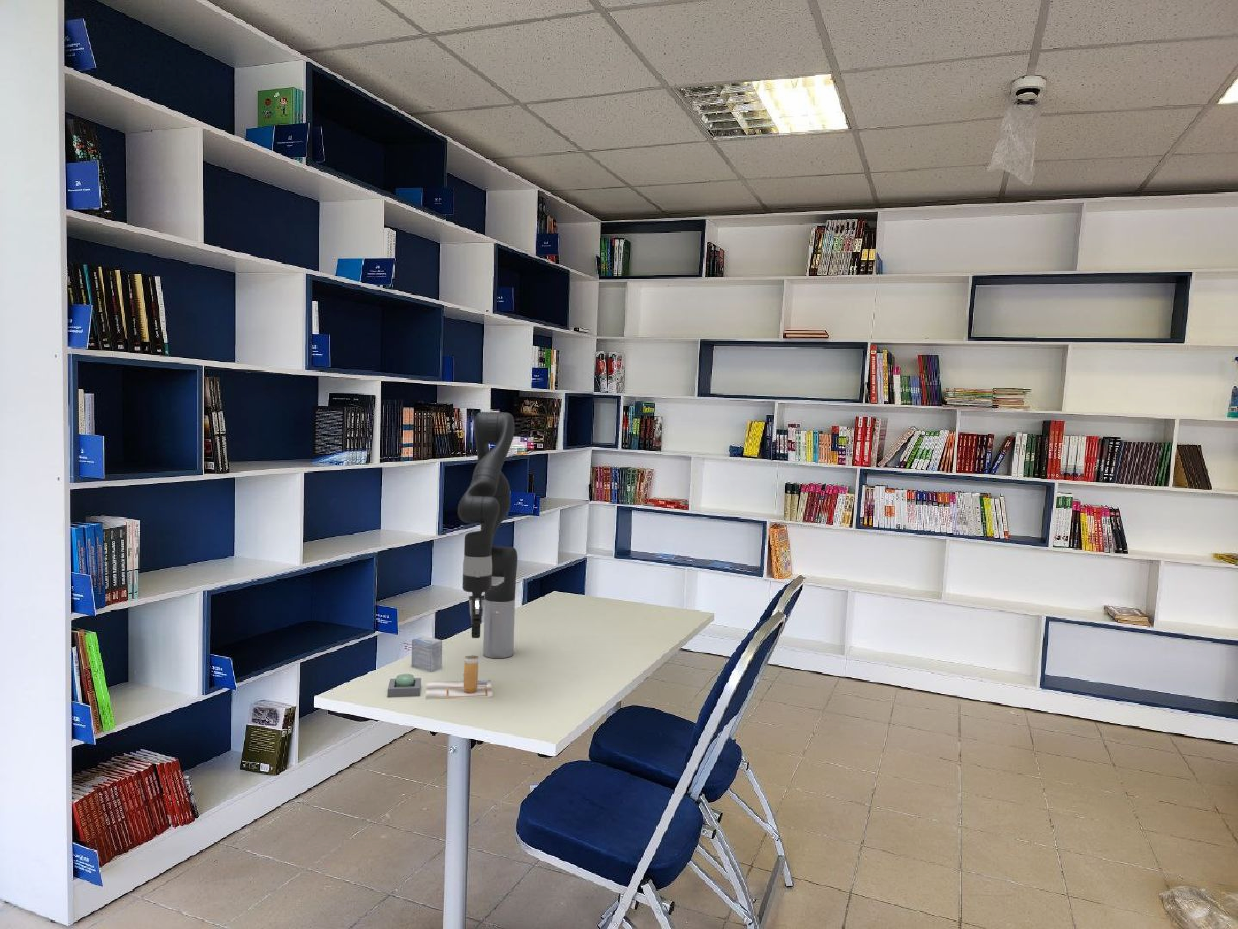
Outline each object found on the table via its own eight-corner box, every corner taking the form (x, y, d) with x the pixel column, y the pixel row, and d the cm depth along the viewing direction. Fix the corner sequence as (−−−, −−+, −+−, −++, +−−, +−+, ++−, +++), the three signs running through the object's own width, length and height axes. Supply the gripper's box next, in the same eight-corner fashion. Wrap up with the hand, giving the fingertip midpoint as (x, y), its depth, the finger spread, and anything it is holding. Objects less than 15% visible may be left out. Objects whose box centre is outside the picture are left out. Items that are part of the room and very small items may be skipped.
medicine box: (442, 669, 230) (443, 640, 229) (431, 673, 226) (432, 643, 225) (422, 664, 234) (422, 635, 233) (410, 668, 230) (411, 638, 229)
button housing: (390, 688, 213) (390, 678, 213) (421, 687, 215) (421, 677, 215) (387, 698, 205) (387, 689, 205) (419, 697, 207) (420, 688, 207)
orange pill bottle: (462, 689, 213) (463, 655, 213) (476, 688, 214) (477, 655, 214) (463, 693, 209) (464, 659, 209) (478, 693, 210) (479, 659, 210)
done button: (396, 683, 212) (396, 674, 212) (413, 683, 213) (414, 673, 213) (395, 689, 208) (395, 680, 207) (413, 688, 208) (413, 679, 208)
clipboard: (423, 683, 218) (423, 681, 218) (493, 680, 222) (494, 679, 222) (421, 701, 204) (421, 700, 204) (496, 699, 208) (496, 697, 208)
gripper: (462, 567, 216) (460, 630, 217) (463, 577, 203) (461, 645, 204) (490, 567, 217) (489, 630, 218) (493, 577, 204) (491, 644, 205)
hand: (475, 637), depth 211 cm, fingers closed
